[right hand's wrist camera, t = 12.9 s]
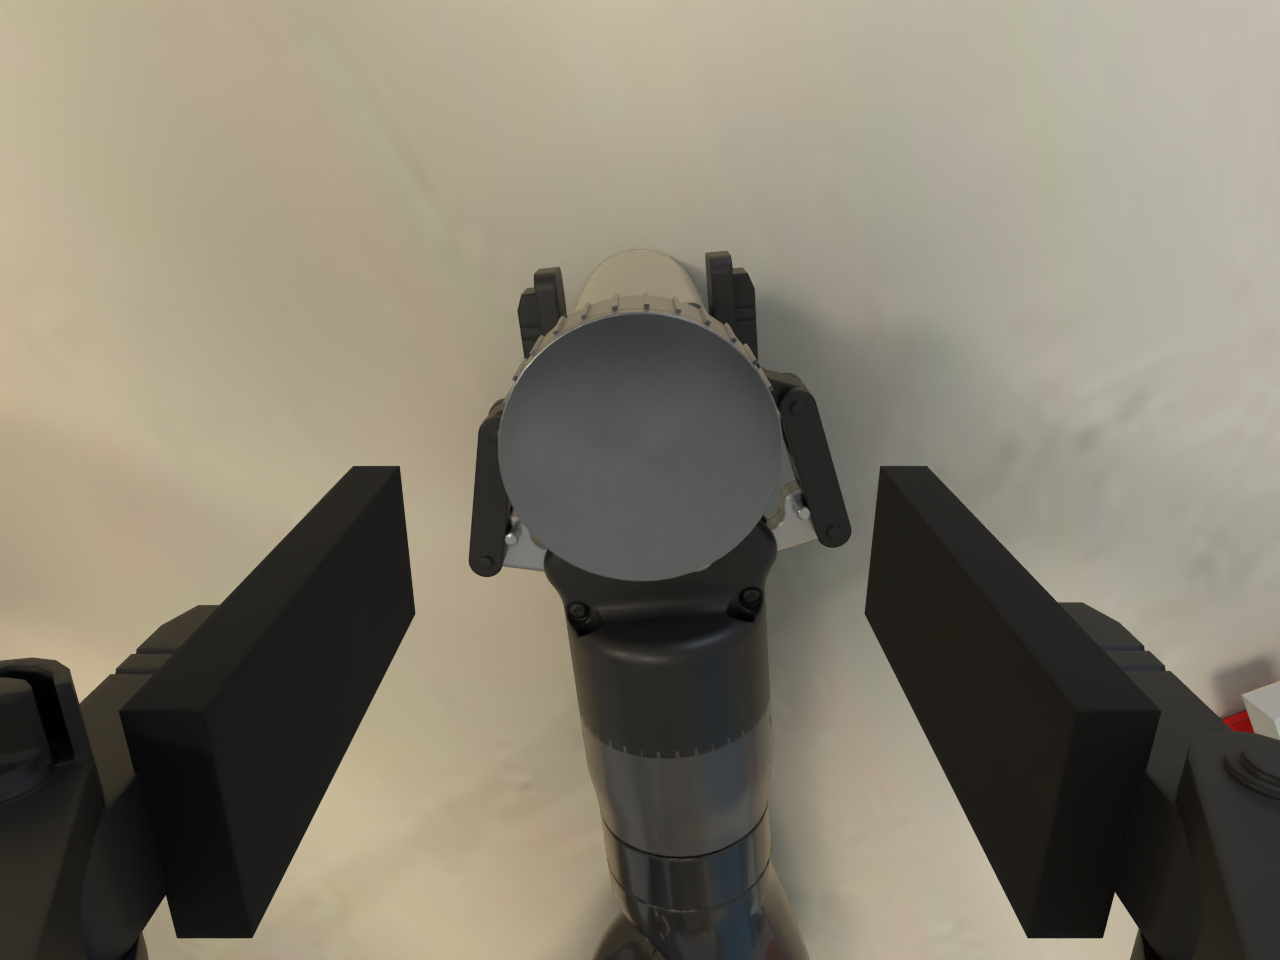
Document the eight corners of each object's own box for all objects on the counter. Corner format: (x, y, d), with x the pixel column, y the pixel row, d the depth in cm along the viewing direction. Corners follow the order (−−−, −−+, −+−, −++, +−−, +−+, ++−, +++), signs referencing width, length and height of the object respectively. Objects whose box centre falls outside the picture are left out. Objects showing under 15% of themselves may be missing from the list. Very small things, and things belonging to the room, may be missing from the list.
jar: (596, 234, 33) (553, 307, 17) (714, 267, 34) (785, 368, 17) (568, 353, 35) (504, 523, 19) (681, 382, 35) (717, 573, 19)
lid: (541, 259, 18) (527, 272, 16) (806, 330, 19) (827, 352, 17) (486, 508, 20) (469, 549, 18) (727, 566, 21) (737, 611, 19)
